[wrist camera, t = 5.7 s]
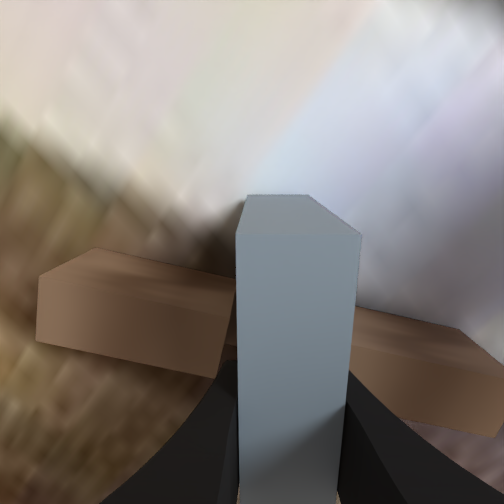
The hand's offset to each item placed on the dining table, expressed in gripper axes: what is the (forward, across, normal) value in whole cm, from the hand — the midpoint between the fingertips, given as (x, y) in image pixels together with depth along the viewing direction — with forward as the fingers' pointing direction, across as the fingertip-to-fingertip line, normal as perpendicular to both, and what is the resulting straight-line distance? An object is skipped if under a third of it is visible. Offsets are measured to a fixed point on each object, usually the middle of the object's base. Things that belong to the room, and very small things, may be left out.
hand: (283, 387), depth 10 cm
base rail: (+5, 0, 0) cm, 5 cm away
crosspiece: (+5, 0, 0) cm, 5 cm away
